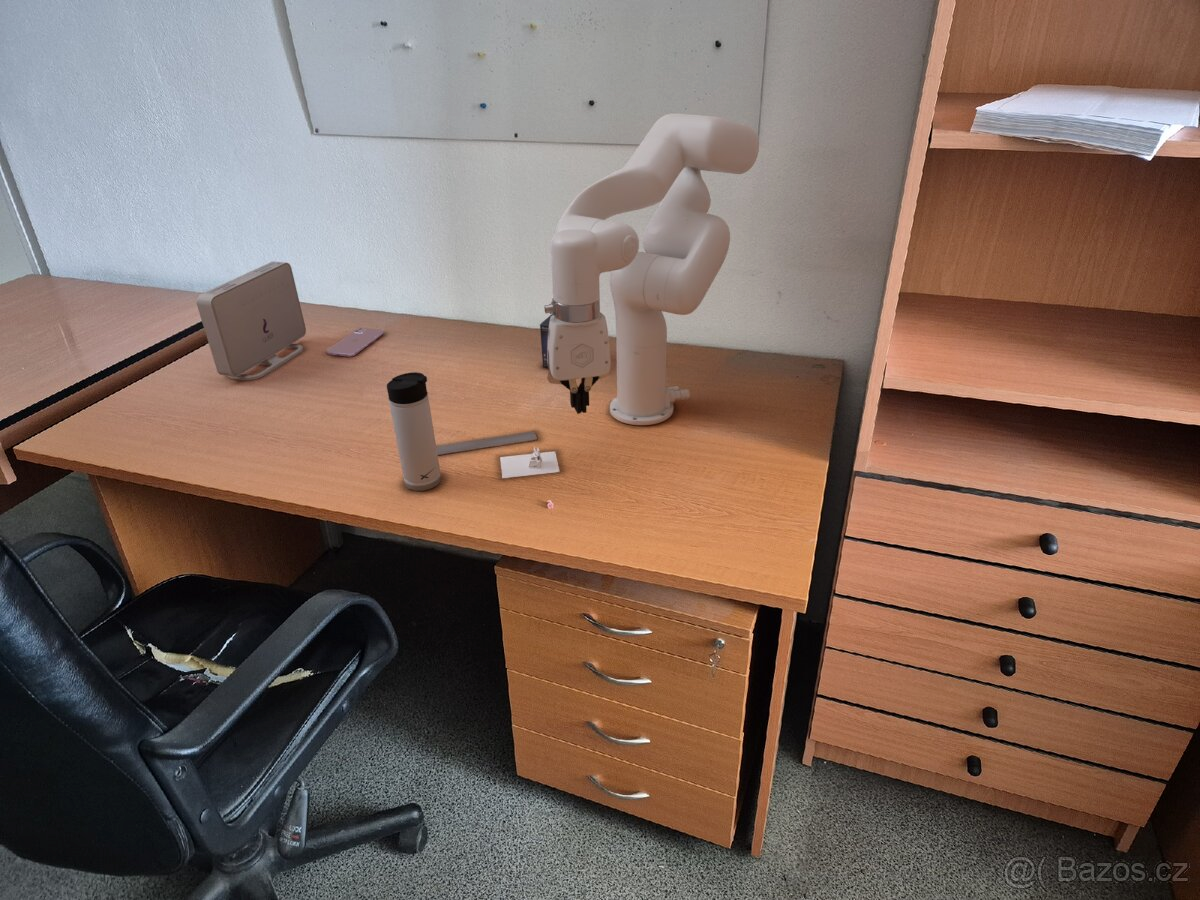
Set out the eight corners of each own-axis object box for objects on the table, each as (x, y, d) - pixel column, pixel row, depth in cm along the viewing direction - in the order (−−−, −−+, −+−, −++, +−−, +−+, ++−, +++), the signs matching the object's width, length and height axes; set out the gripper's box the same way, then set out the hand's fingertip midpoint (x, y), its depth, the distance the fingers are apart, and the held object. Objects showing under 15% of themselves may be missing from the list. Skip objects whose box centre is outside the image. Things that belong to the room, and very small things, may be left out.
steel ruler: (534, 432, 149) (534, 431, 148) (537, 440, 146) (537, 438, 146) (428, 448, 144) (427, 447, 144) (429, 457, 142) (429, 455, 142)
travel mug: (435, 493, 132) (417, 387, 121) (398, 489, 133) (378, 384, 123) (448, 473, 137) (432, 370, 127) (413, 470, 138) (394, 367, 128)
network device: (244, 388, 168) (218, 299, 158) (211, 383, 171) (183, 296, 160) (316, 342, 189) (298, 261, 179) (286, 338, 191) (266, 258, 181)
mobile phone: (323, 350, 182) (358, 326, 194) (324, 354, 182) (359, 330, 194) (351, 353, 180) (385, 329, 192) (352, 357, 180) (386, 333, 192)
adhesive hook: (543, 467, 138) (542, 452, 136) (529, 469, 137) (527, 454, 136) (541, 459, 140) (540, 444, 139) (527, 460, 140) (526, 445, 138)
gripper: (535, 322, 121) (541, 425, 131) (627, 311, 125) (627, 413, 134) (527, 306, 128) (533, 406, 137) (614, 297, 131) (615, 395, 140)
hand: (579, 409), depth 135 cm, fingers closed
